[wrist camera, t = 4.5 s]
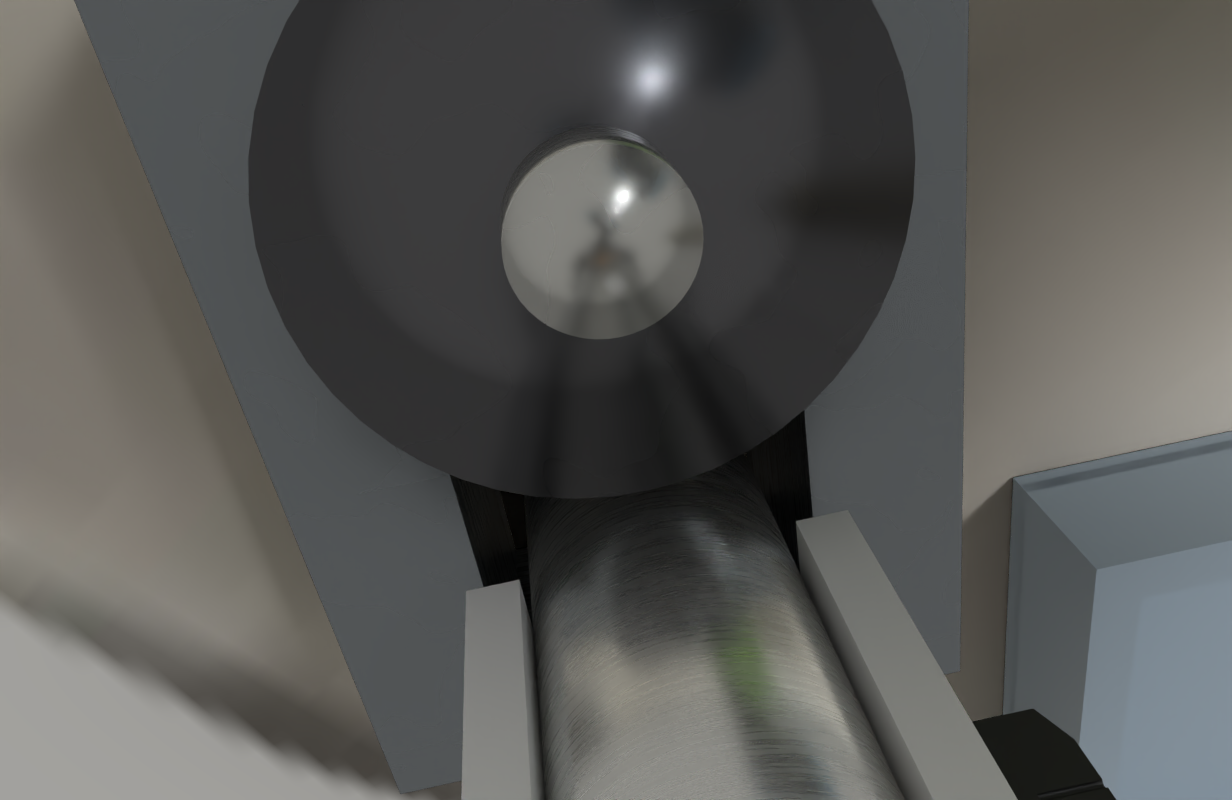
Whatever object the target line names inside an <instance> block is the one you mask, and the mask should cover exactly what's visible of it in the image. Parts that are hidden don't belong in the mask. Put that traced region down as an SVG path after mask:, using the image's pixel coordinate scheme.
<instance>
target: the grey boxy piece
mask: <svg viewBox="0 0 1232 800" xmlns="http://www.w3.org/2000/svg"><path fill="white" fill-rule="evenodd" d="M74 1H75V3H76V6H77V8H78V11H79V13H80V15H81V18H82V20H83V23H84V25H85V28H86V30H87V33H88V35H89V37H90V40H91V42H92V45H93V47H94V50H95V52H96V54H97V57H98V59H99V62H100V64H101V67H102V69H103V71H104V74H105V76H106V79H107V81H108V84H109V86H110V88H111V91H112V93H113V96H114V98H115V101H116V103H117V105H118V108H119V110H120V113H121V115H122V118H123V120H124V123H125V125H126V127H127V130H128V132H129V135H130V137H131V140H132V142H133V144H134V147H135V149H136V152H137V154H138V157H139V159H140V161H141V164H142V166H143V169H144V171H145V174H146V176H147V178H148V181H149V183H150V186H151V188H152V191H153V193H154V196H155V198H156V200H157V203H158V205H159V208H160V210H161V213H162V215H163V217H164V220H165V222H166V225H167V227H168V230H169V232H170V234H171V237H172V239H173V242H174V244H175V247H176V249H177V251H178V254H179V256H180V259H181V261H182V264H183V266H184V268H185V271H186V273H187V276H188V278H189V281H190V283H191V286H192V288H193V290H194V293H195V295H196V298H197V300H198V303H199V305H200V307H201V310H202V312H203V315H204V317H205V320H206V322H207V324H208V327H209V329H210V332H211V334H212V337H213V339H214V341H215V344H216V346H217V349H218V351H219V354H220V356H221V358H222V361H223V363H224V366H225V368H226V371H227V373H228V376H229V378H230V380H231V383H232V385H233V388H234V390H235V393H236V395H237V397H238V400H239V402H240V405H241V407H242V410H243V412H244V414H245V417H246V419H247V422H248V424H249V427H250V429H251V431H252V434H253V436H254V439H255V441H256V444H257V446H258V449H259V451H260V453H261V456H262V458H263V461H264V463H265V466H266V468H267V470H268V473H269V475H270V478H271V480H272V483H273V485H274V487H275V490H276V492H277V495H278V497H279V500H280V502H281V504H282V507H283V509H284V512H285V514H286V517H287V519H288V521H289V524H290V526H291V529H292V531H293V534H294V536H295V539H296V541H297V543H298V546H299V548H300V551H301V553H302V556H303V558H304V560H305V563H306V565H307V568H308V570H309V573H310V575H311V577H312V580H313V582H314V585H315V587H316V590H317V592H318V594H319V597H320V599H321V602H322V604H323V607H324V609H325V611H326V614H327V616H328V619H329V621H330V624H331V626H332V629H333V631H334V633H335V636H336V638H337V641H338V643H339V646H340V648H341V650H342V653H343V655H344V658H345V660H346V663H347V665H348V667H349V670H350V672H351V675H352V677H353V680H354V682H355V684H356V687H357V689H358V692H359V694H360V697H361V699H362V702H363V704H364V706H365V709H366V711H367V714H368V716H369V719H370V721H371V723H372V726H373V728H374V731H375V733H376V736H377V738H378V740H379V743H380V745H381V748H382V750H383V753H384V755H385V757H386V760H387V762H388V765H389V767H390V770H391V772H392V774H393V777H394V779H395V782H396V784H397V787H398V789H399V792H400V794H403V793H408V792H412V791H417V790H421V789H426V788H430V787H435V786H440V785H444V784H449V783H453V782H458V781H462V750H463V705H464V661H465V616H466V591H468V590H473V589H478V588H482V587H487V586H492V585H497V584H501V583H506V582H511V581H515V580H520V584H521V588H522V591H523V595H524V598H525V602H526V606H527V609H528V613H529V617H530V620H531V624H532V627H533V619H532V605H531V590H530V576H529V561H528V547H527V548H522V549H517V550H516V548H515V544H514V540H513V537H512V533H511V529H510V526H509V522H508V518H507V515H506V511H505V507H504V504H503V500H502V496H501V493H500V490H501V491H506V492H512V493H517V494H523V495H529V496H535V497H550V498H566V499H579V498H601V497H612V496H619V495H625V494H632V493H638V492H645V491H648V490H652V489H656V488H659V487H663V486H667V485H671V484H674V483H678V482H681V481H684V480H686V479H689V478H692V477H694V476H697V475H699V474H702V473H704V472H707V471H710V470H712V469H715V468H717V467H719V466H721V465H723V464H724V463H726V462H728V461H730V460H732V459H734V458H736V457H738V456H740V455H742V454H744V453H746V456H747V461H748V463H749V465H750V467H751V469H752V472H753V474H754V476H755V478H756V480H757V482H758V485H759V487H760V489H761V491H762V493H763V495H764V497H765V500H766V502H767V504H768V506H769V508H770V510H771V512H772V515H773V517H774V519H775V521H776V523H777V525H778V528H779V530H780V532H781V534H782V536H783V538H784V540H785V543H786V545H787V547H788V549H789V551H790V553H791V555H792V558H793V560H794V562H795V564H796V566H797V568H798V571H799V573H800V565H799V554H798V543H797V532H796V521H799V520H803V519H808V518H813V517H818V516H822V515H827V514H832V513H836V512H841V511H846V510H848V511H849V513H850V515H851V517H852V518H853V520H854V522H855V523H856V525H857V527H858V529H859V530H860V532H861V534H862V535H863V537H864V539H865V540H866V542H867V544H868V546H869V547H870V549H871V551H872V552H873V554H874V556H875V557H876V559H877V561H878V563H879V564H880V566H881V568H882V569H883V571H884V573H885V574H886V576H887V578H888V580H889V581H890V583H891V585H892V586H893V588H894V590H895V592H896V593H897V595H898V597H899V598H900V600H901V602H902V603H903V605H904V607H905V609H906V610H907V612H908V614H909V615H910V617H911V619H912V620H913V622H914V624H915V626H916V627H917V629H918V631H919V632H920V634H921V636H922V637H923V639H924V641H925V643H926V644H927V646H928V648H929V649H930V651H931V653H932V654H933V656H934V658H935V660H936V661H937V663H938V665H939V666H940V668H941V670H942V672H943V673H944V675H945V674H949V673H954V672H958V671H960V636H961V559H962V482H963V405H964V327H965V250H966V173H967V96H968V18H969V0H74Z"/></svg>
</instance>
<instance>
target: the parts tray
mask: <svg viewBox="0 0 1232 800" xmlns="http://www.w3.org/2000/svg"><path fill="white" fill-rule="evenodd" d="M1028 709H1035V710H1036V711H1037V712H1039V713H1040V714H1041V715H1043V716H1044V717H1045V718H1047V719H1048V720H1049V721H1051V722H1052V723H1053V724H1055V725H1056V726H1057V727H1059V728H1060V729H1061V730H1063V731H1064V732H1065V733H1067V734H1068V735H1070V736H1071V737H1072V738H1074V739H1075V741H1076V742H1077V744H1078V745H1079V746H1080V748H1081V749H1082V751H1083V752H1084V754H1085V755H1086V757H1087V758H1088V759H1089V761H1090V762H1091V764H1092V765H1093V767H1094V768H1095V769H1096V771H1097V772H1098V774H1099V775H1100V777H1101V778H1102V781H1103V784H1104V786H1105V787H1106V788H1107V787H1108V788H1109V790H1110V791H1111V792H1112V794H1113V795H1114V797H1115V798H1116V800H1232V431H1230V432H1225V433H1220V434H1216V435H1211V436H1206V437H1201V438H1197V439H1192V440H1187V441H1183V442H1178V443H1173V444H1169V445H1164V446H1159V447H1155V448H1150V449H1145V450H1141V451H1136V452H1131V453H1127V454H1122V455H1117V456H1113V457H1108V458H1103V459H1098V460H1094V461H1089V462H1084V463H1080V464H1075V465H1070V466H1066V467H1061V468H1056V469H1052V470H1047V471H1042V472H1038V473H1033V474H1028V475H1024V476H1019V477H1014V478H1013V493H1012V515H1011V538H1010V561H1009V584H1008V606H1007V629H1006V652H1005V675H1004V697H1003V715H1005V714H1010V713H1014V712H1019V711H1023V710H1028Z"/></svg>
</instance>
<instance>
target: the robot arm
mask: <svg viewBox="0 0 1232 800" xmlns="http://www.w3.org/2000/svg"><path fill="white" fill-rule="evenodd" d="M796 532H797V543H798V554H799V565H800V575H801V577H802V579H803V581H804V583H805V586H806V588H807V590H808V592H809V594H810V596H811V598H812V601H813V603H814V605H815V607H816V609H817V611H818V614H819V616H820V618H821V620H822V622H823V624H824V626H825V629H826V631H827V633H828V635H829V637H830V639H831V642H832V644H833V646H834V648H835V650H836V652H837V654H838V657H839V659H840V661H841V663H842V665H843V667H844V669H845V672H846V674H847V676H848V678H849V680H850V682H851V685H852V687H853V689H854V691H855V693H856V695H857V697H858V700H859V702H860V704H861V706H862V708H863V710H864V712H865V715H866V717H867V719H868V721H869V723H870V725H871V728H872V730H873V732H874V734H875V736H876V738H877V740H878V743H879V745H880V747H881V749H882V751H883V753H884V755H885V758H886V760H887V762H888V764H889V766H890V768H891V771H892V773H893V775H894V777H895V779H896V781H897V783H898V786H899V788H900V790H901V792H902V794H903V796H904V798H905V800H1116V798H1115V797H1114V795H1113V794H1112V792H1111V791H1110V790H1109V788H1108V787H1107V788H1106V787H1105V786H1104V784H1103V781H1102V778H1101V777H1100V775H1099V774H1098V772H1097V771H1096V769H1095V768H1094V767H1093V765H1092V764H1091V762H1090V761H1089V759H1088V758H1087V757H1086V755H1085V754H1084V752H1083V751H1082V749H1081V748H1080V746H1079V745H1078V744H1077V742H1076V741H1075V739H1074V738H1072V737H1071V736H1070V735H1068V734H1067V733H1065V732H1064V731H1063V730H1061V729H1060V728H1059V727H1057V726H1056V725H1055V724H1053V723H1052V722H1051V721H1049V720H1048V719H1047V718H1045V717H1044V716H1043V715H1041V714H1040V713H1039V712H1037V711H1036V710H1035V709H1028V710H1023V711H1019V712H1014V713H1010V714H1005V715H1001V716H996V717H991V718H987V719H982V720H978V721H973V722H972V721H971V719H970V717H969V716H968V714H967V712H966V711H965V709H964V707H963V706H962V704H961V702H960V700H959V699H958V697H957V695H956V694H955V692H954V690H953V689H952V687H951V685H950V683H949V682H948V680H947V678H946V677H945V675H944V673H943V672H942V670H941V668H940V666H939V665H938V663H937V661H936V660H935V658H934V656H933V654H932V653H931V651H930V649H929V648H928V646H927V644H926V643H925V641H924V639H923V637H922V636H921V634H920V632H919V631H918V629H917V627H916V626H915V624H914V622H913V620H912V619H911V617H910V615H909V614H908V612H907V610H906V609H905V607H904V605H903V603H902V602H901V600H900V598H899V597H898V595H897V593H896V592H895V590H894V588H893V586H892V585H891V583H890V581H889V580H888V578H887V576H886V574H885V573H884V571H883V569H882V568H881V566H880V564H879V563H878V561H877V559H876V557H875V556H874V554H873V552H872V551H871V549H870V547H869V546H868V544H867V542H866V540H865V539H864V537H863V535H862V534H861V532H860V530H859V529H858V527H857V525H856V523H855V522H854V520H853V518H852V517H851V515H850V513H849V511H848V510H846V511H841V512H836V513H832V514H827V515H822V516H818V517H813V518H808V519H803V520H799V521H796ZM461 800H545V786H544V772H543V758H542V743H541V729H540V715H539V700H538V686H537V672H536V657H535V643H534V631H533V627H532V624H531V620H530V617H529V613H528V609H527V606H526V602H525V598H524V595H523V591H522V588H521V584H520V580H515V581H511V582H506V583H501V584H497V585H492V586H487V587H482V588H478V589H473V590H468V591H466V616H465V661H464V705H463V750H462V795H461Z"/></svg>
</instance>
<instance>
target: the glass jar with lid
mask: <svg viewBox="0 0 1232 800" xmlns="http://www.w3.org/2000/svg"><path fill="white" fill-rule="evenodd" d="M524 503H525V518H526V532H527V547H528V561H529V576H530V590H531V605H532V619H533V631H534V643H535V657H536V672H537V686H538V700H539V715H540V729H541V743H542V758H543V772H544V786H545V800H905V798H904V796H903V794H902V792H901V790H900V788H899V786H898V783H897V781H896V779H895V777H894V775H893V773H892V771H891V768H890V766H889V764H888V762H887V760H886V758H885V755H884V753H883V751H882V749H881V747H880V745H879V743H878V740H877V738H876V736H875V734H874V732H873V730H872V728H871V725H870V723H869V721H868V719H867V717H866V715H865V712H864V710H863V708H862V706H861V704H860V702H859V700H858V697H857V695H856V693H855V691H854V689H853V687H852V685H851V682H850V680H849V678H848V676H847V674H846V672H845V669H844V667H843V665H842V663H841V661H840V659H839V657H838V654H837V652H836V650H835V648H834V646H833V644H832V642H831V639H830V637H829V635H828V633H827V631H826V629H825V626H824V624H823V622H822V620H821V618H820V616H819V614H818V611H817V609H816V607H815V605H814V603H813V601H812V598H811V596H810V594H809V592H808V590H807V588H806V586H805V583H804V581H803V579H802V577H801V575H800V573H799V571H798V568H797V566H796V564H795V562H794V560H793V558H792V555H791V553H790V551H789V549H788V547H787V545H786V543H785V540H784V538H783V536H782V534H781V532H780V530H779V528H778V525H777V523H776V521H775V519H774V517H773V515H772V512H771V510H770V508H769V506H768V504H767V502H766V500H765V497H764V495H763V493H762V491H761V489H760V487H759V485H758V482H757V480H756V478H755V476H754V474H753V472H752V469H751V467H750V465H749V463H748V461H747V459H746V457H745V454H742V455H740V456H738V457H736V458H734V459H732V460H730V461H728V462H726V463H724V464H723V465H721V466H719V467H717V468H715V469H712V470H710V471H707V472H704V473H702V474H699V475H697V476H694V477H692V478H689V479H686V480H684V481H681V482H678V483H674V484H671V485H667V486H663V487H659V488H656V489H652V490H648V491H645V492H638V493H632V494H625V495H619V496H612V497H601V498H579V499H566V498H550V497H535V496H529V495H524Z"/></svg>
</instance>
